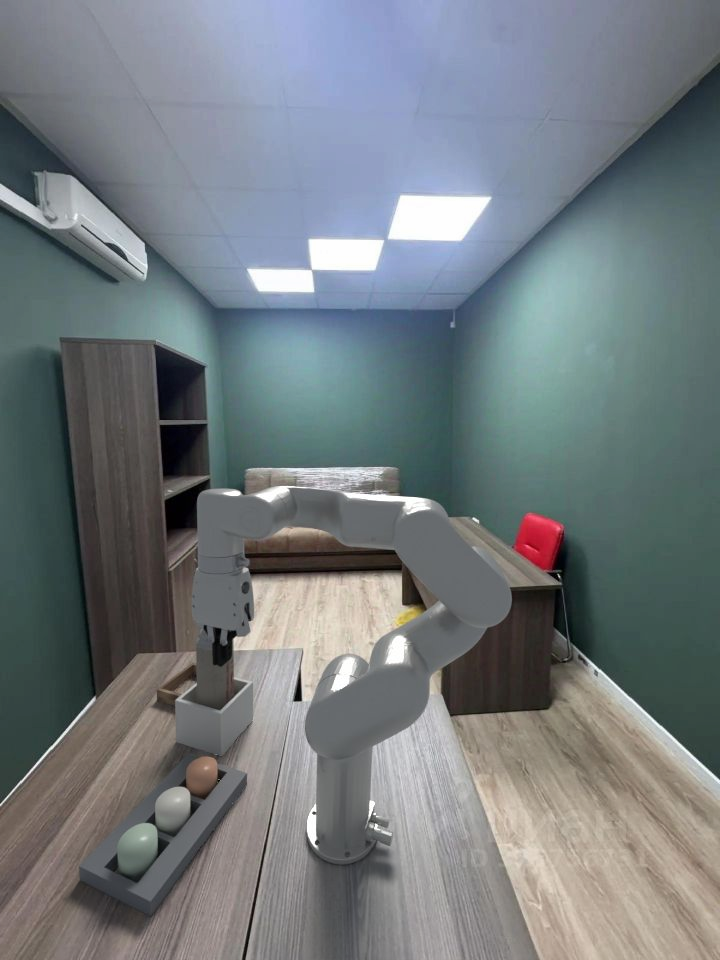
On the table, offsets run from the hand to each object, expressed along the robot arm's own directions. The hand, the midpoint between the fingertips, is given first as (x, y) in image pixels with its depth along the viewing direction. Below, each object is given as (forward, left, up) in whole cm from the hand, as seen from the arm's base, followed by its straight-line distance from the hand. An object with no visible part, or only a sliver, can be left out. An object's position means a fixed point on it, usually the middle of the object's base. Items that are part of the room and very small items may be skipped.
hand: (222, 661), depth 74 cm
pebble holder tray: (+6, +6, -29) cm, 30 cm away
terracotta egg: (+6, -1, -28) cm, 29 cm away
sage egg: (+6, +14, -28) cm, 32 cm away
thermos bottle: (+14, -16, -29) cm, 36 cm away
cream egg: (+6, +6, -28) cm, 30 cm away
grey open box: (+14, -16, -29) cm, 36 cm away
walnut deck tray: (+28, -26, -29) cm, 48 cm away
